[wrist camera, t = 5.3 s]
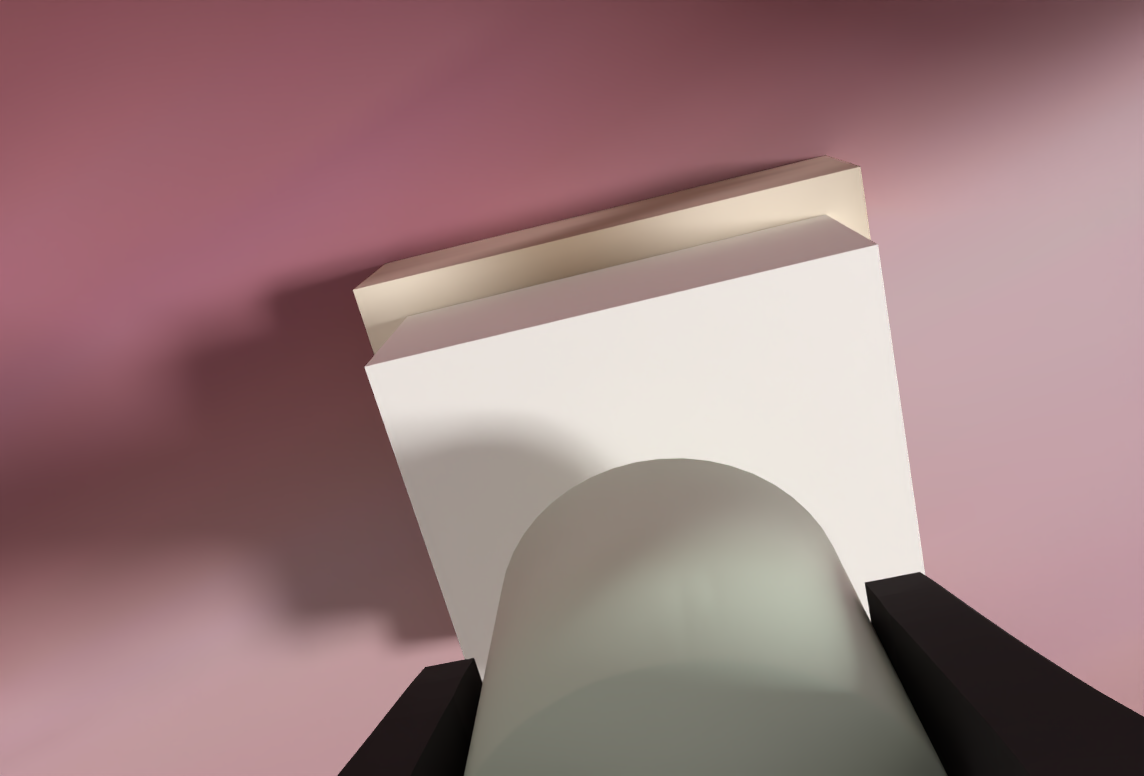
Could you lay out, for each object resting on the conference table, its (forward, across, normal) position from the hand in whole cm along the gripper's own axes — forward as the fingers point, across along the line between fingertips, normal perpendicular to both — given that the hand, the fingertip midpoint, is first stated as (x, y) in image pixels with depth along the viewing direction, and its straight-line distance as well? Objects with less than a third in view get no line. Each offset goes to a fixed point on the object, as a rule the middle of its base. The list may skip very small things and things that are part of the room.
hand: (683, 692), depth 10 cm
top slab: (+7, 0, 0) cm, 7 cm away
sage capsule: (+1, 0, 0) cm, 1 cm away
